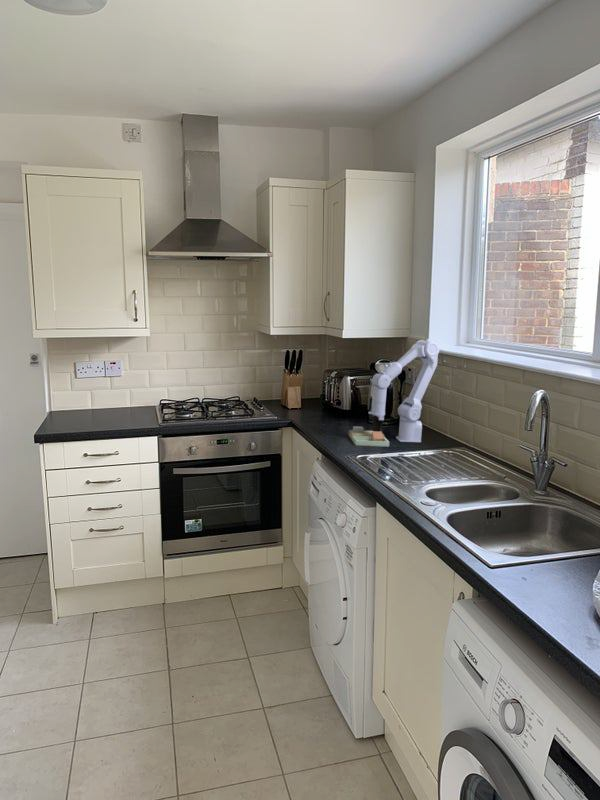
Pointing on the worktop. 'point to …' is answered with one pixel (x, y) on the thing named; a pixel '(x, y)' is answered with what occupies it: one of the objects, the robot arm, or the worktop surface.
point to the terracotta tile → (377, 436)
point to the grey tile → (358, 429)
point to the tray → (369, 441)
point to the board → (366, 433)
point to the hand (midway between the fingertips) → (376, 433)
